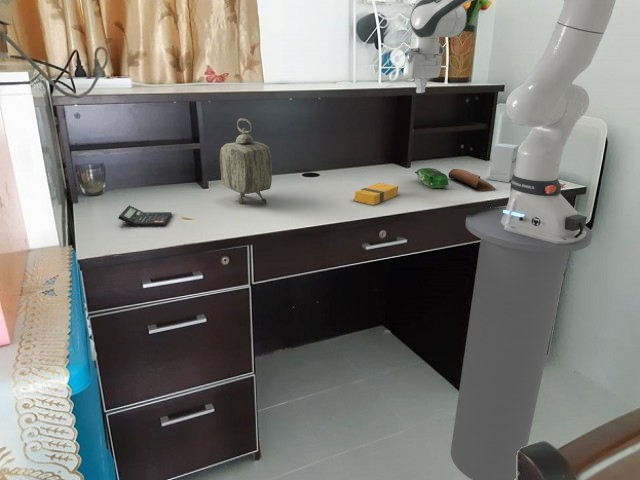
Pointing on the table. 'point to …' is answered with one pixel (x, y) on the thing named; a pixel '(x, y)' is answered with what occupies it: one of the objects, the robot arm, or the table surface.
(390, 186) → the block
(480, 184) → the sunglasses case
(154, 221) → the calculator
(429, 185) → the snack package
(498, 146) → the white packaging box
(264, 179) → the tabletop clock
